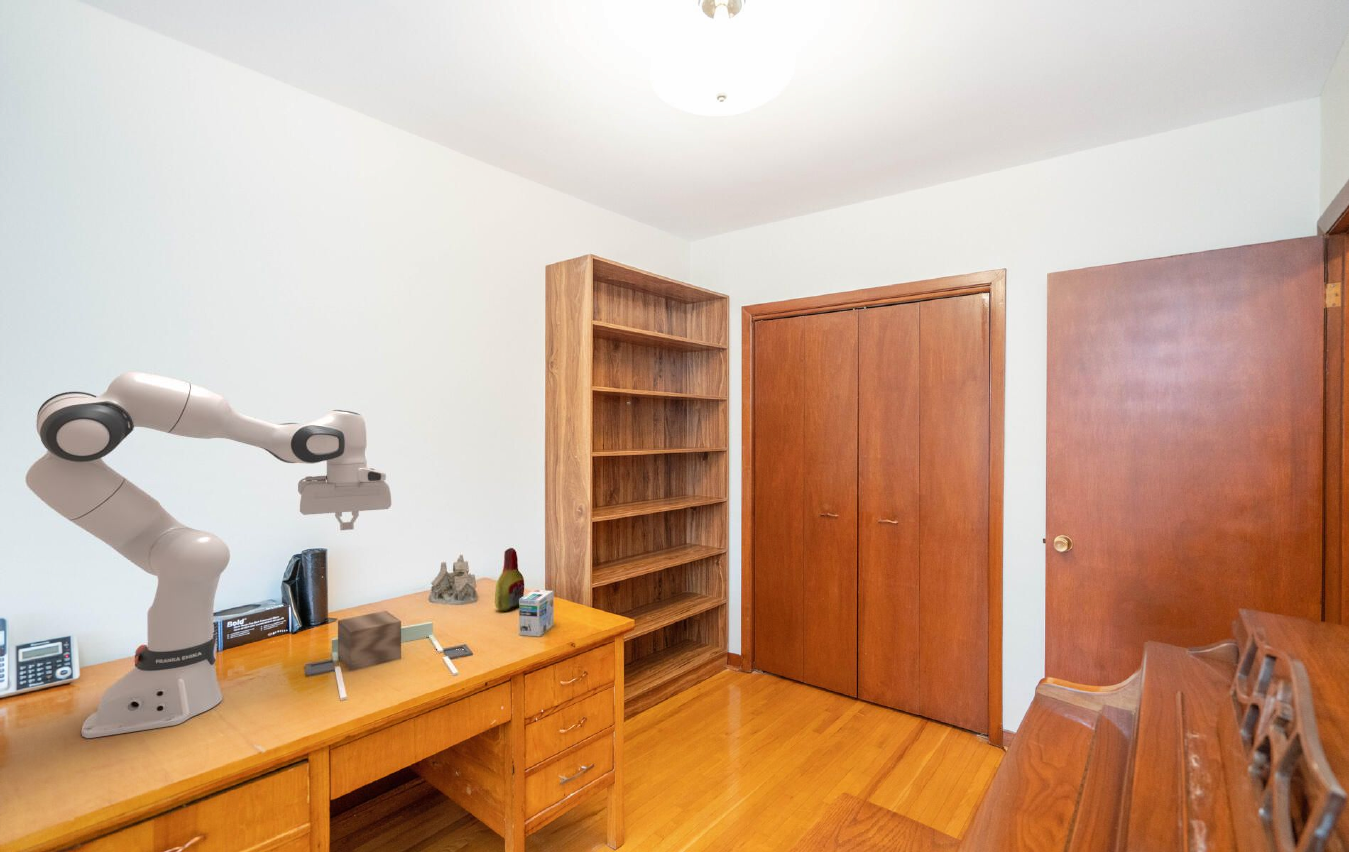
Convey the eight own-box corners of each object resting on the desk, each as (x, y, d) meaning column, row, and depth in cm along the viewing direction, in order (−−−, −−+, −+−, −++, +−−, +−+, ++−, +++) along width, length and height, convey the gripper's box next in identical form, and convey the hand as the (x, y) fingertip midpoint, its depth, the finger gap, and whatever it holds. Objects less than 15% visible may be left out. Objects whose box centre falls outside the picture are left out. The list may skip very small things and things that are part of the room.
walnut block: (350, 671, 149) (350, 631, 149) (337, 658, 158) (337, 620, 157) (401, 658, 157) (401, 621, 157) (386, 646, 166) (386, 610, 166)
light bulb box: (539, 637, 173) (539, 600, 173) (518, 635, 174) (518, 598, 174) (554, 625, 183) (554, 590, 183) (534, 623, 184) (534, 588, 184)
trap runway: (307, 707, 130) (307, 689, 130) (304, 658, 157) (304, 643, 157) (483, 668, 150) (483, 653, 150) (454, 631, 177) (454, 617, 177)
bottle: (516, 602, 206) (516, 544, 206) (530, 605, 203) (530, 546, 203) (490, 611, 196) (490, 550, 196) (504, 614, 193) (504, 553, 193)
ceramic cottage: (428, 595, 214) (430, 554, 213) (476, 592, 220) (478, 552, 219) (427, 610, 200) (429, 566, 199) (479, 607, 206) (481, 564, 205)
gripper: (298, 477, 142) (298, 535, 142) (392, 473, 153) (392, 527, 153) (297, 475, 147) (297, 531, 147) (388, 472, 158) (388, 524, 158)
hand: (346, 529), depth 150 cm, fingers closed
